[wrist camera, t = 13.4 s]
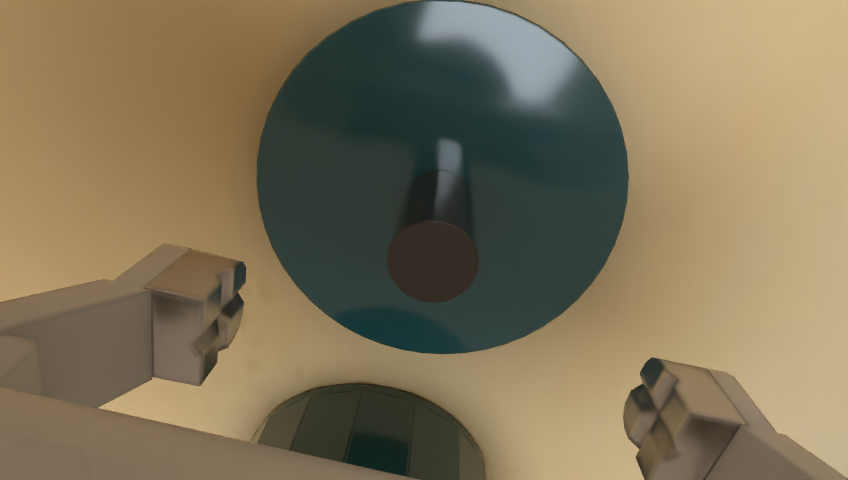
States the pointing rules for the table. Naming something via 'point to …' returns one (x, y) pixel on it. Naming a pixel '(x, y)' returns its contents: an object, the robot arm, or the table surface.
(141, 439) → the robot arm
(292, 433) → the pot
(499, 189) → the lid
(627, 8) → the table surface
